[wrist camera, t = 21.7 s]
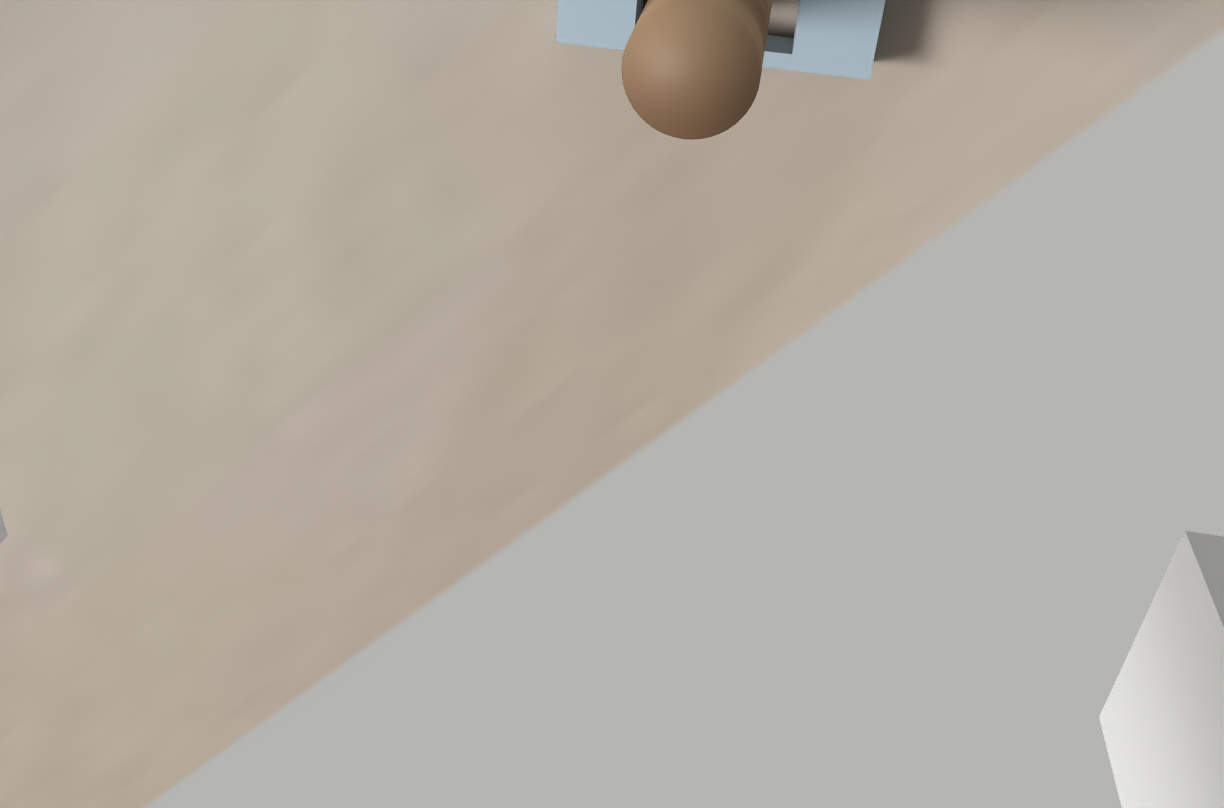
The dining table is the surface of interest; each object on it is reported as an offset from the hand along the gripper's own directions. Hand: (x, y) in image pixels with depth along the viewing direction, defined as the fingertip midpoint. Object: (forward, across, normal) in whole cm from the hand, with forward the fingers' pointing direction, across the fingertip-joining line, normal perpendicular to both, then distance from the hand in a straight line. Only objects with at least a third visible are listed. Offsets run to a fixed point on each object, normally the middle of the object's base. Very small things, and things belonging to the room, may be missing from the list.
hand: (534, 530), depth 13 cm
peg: (+29, 0, 0) cm, 29 cm away
